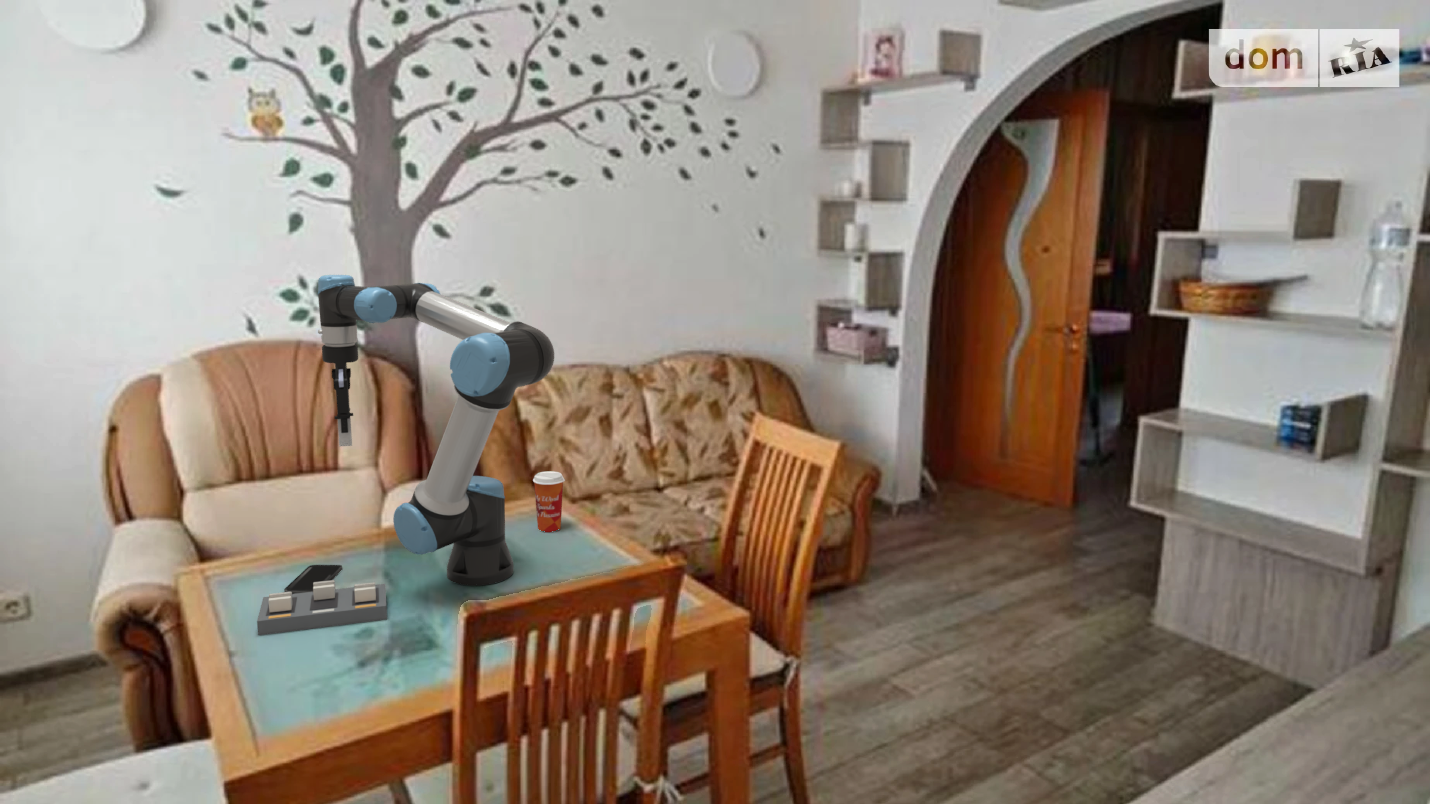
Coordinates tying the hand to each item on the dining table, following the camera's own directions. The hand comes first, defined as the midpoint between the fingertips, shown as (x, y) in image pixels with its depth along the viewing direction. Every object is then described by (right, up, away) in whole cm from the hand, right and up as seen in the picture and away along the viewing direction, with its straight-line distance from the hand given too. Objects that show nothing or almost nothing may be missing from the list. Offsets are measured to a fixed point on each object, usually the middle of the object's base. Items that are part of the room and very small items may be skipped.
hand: (345, 445), depth 210 cm
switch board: (+4, -34, -20) cm, 40 cm away
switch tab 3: (+12, -31, -20) cm, 39 cm away
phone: (-6, -31, -3) cm, 32 cm away
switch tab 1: (-3, -32, -25) cm, 41 cm away
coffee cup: (+41, -24, +34) cm, 58 cm away
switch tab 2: (+3, -31, -19) cm, 36 cm away
